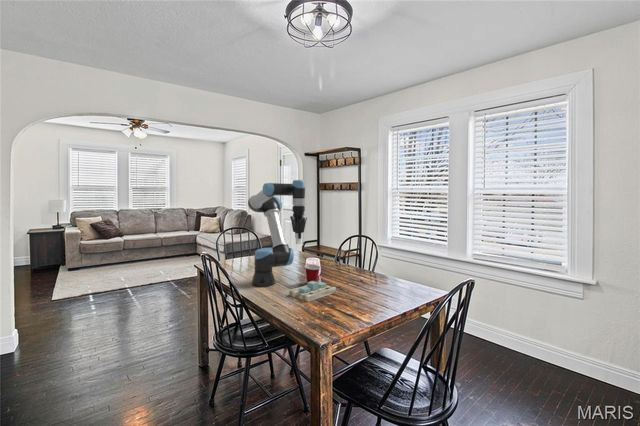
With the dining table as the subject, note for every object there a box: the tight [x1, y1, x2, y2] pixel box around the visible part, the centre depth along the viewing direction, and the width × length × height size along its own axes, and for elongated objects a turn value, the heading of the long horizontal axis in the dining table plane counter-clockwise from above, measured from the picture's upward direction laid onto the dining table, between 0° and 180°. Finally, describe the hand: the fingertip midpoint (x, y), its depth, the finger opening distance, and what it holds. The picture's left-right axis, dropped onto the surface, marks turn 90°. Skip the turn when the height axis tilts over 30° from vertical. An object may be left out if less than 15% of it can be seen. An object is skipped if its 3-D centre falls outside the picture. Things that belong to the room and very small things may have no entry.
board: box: [288, 284, 337, 303], centre depth 192 cm, size 16×24×3 cm, turn 137°
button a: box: [298, 286, 310, 294], centre depth 187 cm, size 5×5×4 cm
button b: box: [306, 281, 320, 291], centre depth 192 cm, size 5×5×4 cm
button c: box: [318, 281, 327, 288], centre depth 197 cm, size 5×5×4 cm
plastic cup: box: [304, 264, 322, 283], centre depth 213 cm, size 11×11×12 cm
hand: (298, 243), depth 197 cm, fingers closed
